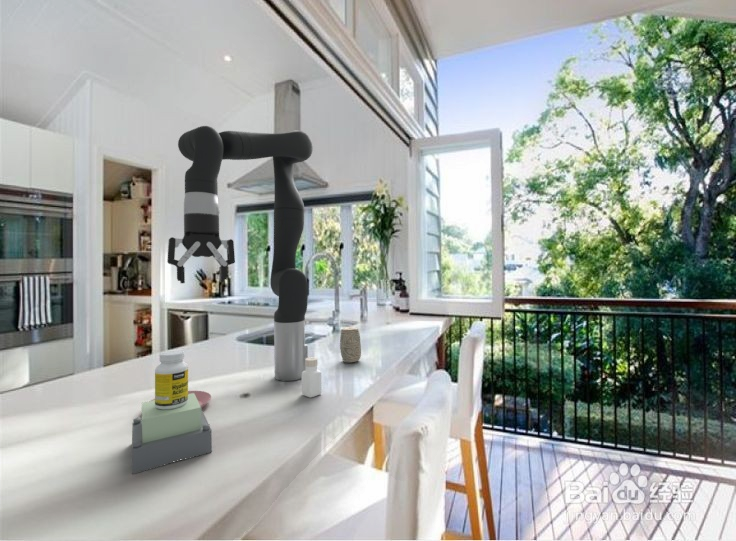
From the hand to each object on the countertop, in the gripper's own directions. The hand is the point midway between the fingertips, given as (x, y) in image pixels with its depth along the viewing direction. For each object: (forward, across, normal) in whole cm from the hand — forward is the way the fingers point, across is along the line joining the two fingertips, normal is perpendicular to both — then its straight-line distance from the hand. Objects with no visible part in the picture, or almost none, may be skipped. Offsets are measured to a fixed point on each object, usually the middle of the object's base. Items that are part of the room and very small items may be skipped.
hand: (202, 282), depth 83 cm
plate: (+30, +5, -4) cm, 31 cm away
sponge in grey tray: (+30, +8, +16) cm, 35 cm away
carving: (+30, -50, -16) cm, 61 cm away
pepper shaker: (+30, -25, +6) cm, 40 cm away
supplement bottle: (+22, +8, +16) cm, 29 cm away
